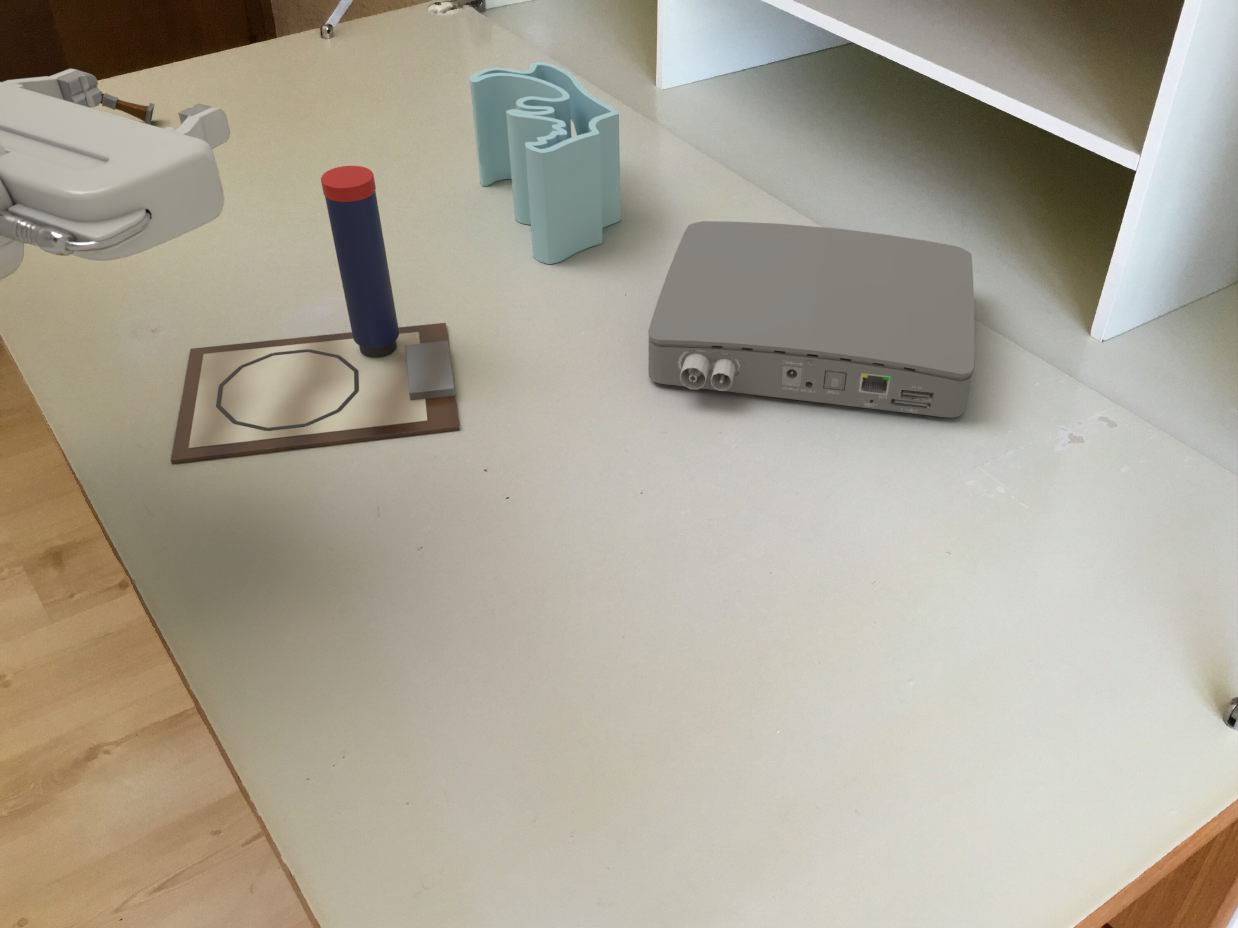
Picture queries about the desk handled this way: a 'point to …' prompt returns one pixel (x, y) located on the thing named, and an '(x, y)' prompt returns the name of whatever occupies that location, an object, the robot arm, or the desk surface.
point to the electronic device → (817, 317)
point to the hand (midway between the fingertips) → (152, 102)
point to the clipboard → (313, 394)
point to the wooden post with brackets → (128, 107)
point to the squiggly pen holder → (549, 154)
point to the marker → (362, 258)
